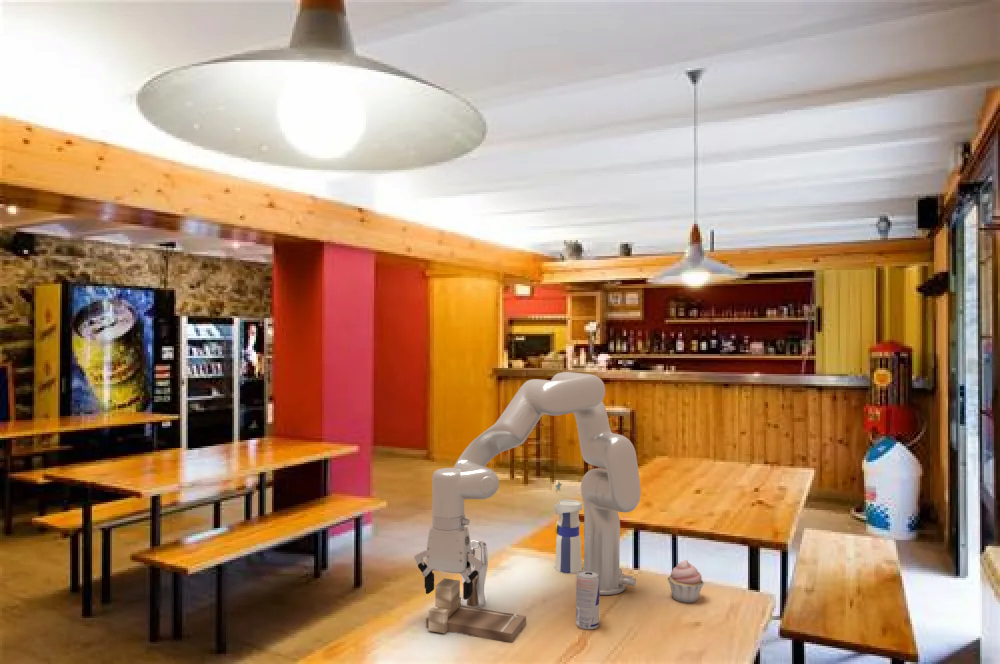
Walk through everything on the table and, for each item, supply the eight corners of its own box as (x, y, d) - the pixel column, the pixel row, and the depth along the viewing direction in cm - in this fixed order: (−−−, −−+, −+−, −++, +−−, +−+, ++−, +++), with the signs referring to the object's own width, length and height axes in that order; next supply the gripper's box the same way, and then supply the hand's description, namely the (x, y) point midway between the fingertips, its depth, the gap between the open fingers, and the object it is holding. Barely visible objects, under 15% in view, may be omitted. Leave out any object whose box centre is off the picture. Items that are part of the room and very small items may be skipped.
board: (526, 624, 158) (526, 615, 158) (511, 642, 148) (511, 633, 148) (444, 611, 165) (444, 602, 165) (426, 627, 156) (426, 618, 156)
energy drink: (601, 622, 159) (601, 571, 159) (596, 631, 154) (597, 579, 154) (578, 619, 161) (579, 568, 161) (573, 628, 156) (574, 576, 156)
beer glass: (488, 599, 173) (489, 540, 173) (485, 610, 166) (486, 549, 166) (462, 597, 174) (462, 539, 174) (457, 608, 167) (458, 548, 167)
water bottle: (550, 572, 193) (550, 484, 193) (557, 562, 201) (558, 478, 201) (578, 575, 190) (578, 487, 190) (585, 566, 198) (585, 481, 198)
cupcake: (704, 608, 168) (704, 568, 168) (665, 603, 171) (665, 563, 171) (704, 594, 177) (705, 556, 177) (668, 589, 180) (668, 552, 180)
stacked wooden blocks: (463, 614, 162) (464, 577, 162) (444, 633, 152) (444, 593, 152) (448, 612, 164) (448, 574, 164) (428, 630, 153) (428, 590, 153)
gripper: (488, 521, 159) (488, 594, 159) (422, 514, 165) (422, 584, 165) (476, 530, 152) (476, 606, 152) (408, 522, 158) (408, 595, 158)
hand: (448, 594), depth 158 cm, fingers open, 9 cm apart
